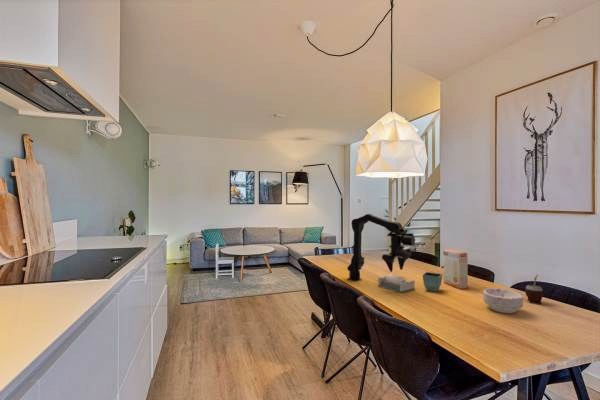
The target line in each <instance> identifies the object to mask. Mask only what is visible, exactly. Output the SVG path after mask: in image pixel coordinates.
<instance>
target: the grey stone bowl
mask: <svg viewBox="0 0 600 400" xmlns="http://www.w3.org/2000/svg"><path fill="white" fill-rule="evenodd" d="M482 294H483V296H482V297H483V298H482V300H483V302H484V303H485V304H486V305H488V307H489V309H491V310H493V311H495V312H498V313H504V314H513V313H516V312H518V310H519V309H522V308H523V307H524V303H523V302H524V301H523V300H524V296H523V295H522V294H521V293H519V292H517V291H514V290H513V291H512V290H509V289H504V288H496V287H495V288H493V287H492V288H485V289H483V292H482Z"/></svg>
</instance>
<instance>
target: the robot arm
mask: <svg viewBox="0 0 600 400" xmlns="http://www.w3.org/2000/svg"><path fill="white" fill-rule="evenodd" d="M368 222H369V223H374V224H376V225H379V226H381V227H384V228H385V229H386V230H387V231H389V233H388V234H387V237H390V245H389V248H390V252H389V253H385V254H382V255H381V259H382V260H383V261H384V262H385V263H386V266H387V268H388V269H389V272H390V273H392V272H393V267H394V262H395V259H396V258H397V261H398V262H397V263H398V266H399V270H401V271H402V270H403V268H404V265H405V262H406V261H407V260H408V259H410V257H411V256H412V249H410V248H407V249H404V246H411V247H413V246H415V245H416V239H415V236H414V233H413V232H411V233H406V231H405V230H404V228H403V225H402V223H400V222H398V221H389V220H386V219H384V218H381V217H378V216H375V215H374V214H372V213H366V214H364V215H363V216H360V217H358V218H354V219H352V220H351V229H352V231H353V253H352V257H351V259H350V264H349V265H348V266H347V267H346V269H347V271H349V274H348V275H349V277H348V278H347V280H350V281H352V282H358V281H362V278H361V272H360V270H362V268H363V266H364V264H365V256H362V255H363V254H362V233H363V231H364V227H365V224H367V223H368Z"/></svg>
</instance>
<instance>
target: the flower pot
mask: <svg viewBox="0 0 600 400" xmlns="http://www.w3.org/2000/svg"><path fill="white" fill-rule="evenodd" d="M442 281H443V273H435V272H429V271H425V272H424V273H423V274H422V282H423V285H424V287H425V289H426V291H430V292H438V291H439V289H440V288H441V285H442Z"/></svg>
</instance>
